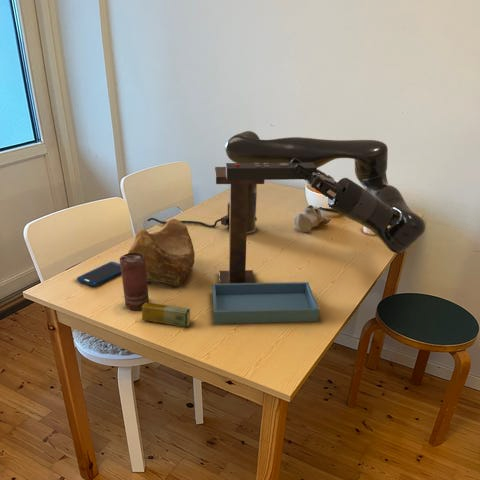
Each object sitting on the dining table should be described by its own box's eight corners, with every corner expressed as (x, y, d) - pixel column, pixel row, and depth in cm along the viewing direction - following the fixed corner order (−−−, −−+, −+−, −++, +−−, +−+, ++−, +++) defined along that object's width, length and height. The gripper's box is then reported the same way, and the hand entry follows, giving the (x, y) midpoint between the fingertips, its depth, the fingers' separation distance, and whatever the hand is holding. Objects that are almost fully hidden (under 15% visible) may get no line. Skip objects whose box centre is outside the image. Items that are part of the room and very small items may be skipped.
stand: (216, 291, 134) (216, 177, 117) (215, 275, 143) (214, 166, 125) (259, 290, 135) (264, 177, 118) (255, 274, 144) (260, 166, 126)
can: (126, 299, 130) (120, 252, 122) (149, 298, 130) (145, 251, 123) (123, 311, 125) (117, 262, 117) (148, 310, 125) (143, 262, 117)
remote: (226, 180, 106) (226, 167, 105) (225, 174, 110) (225, 162, 108) (315, 179, 108) (316, 166, 106) (311, 173, 111) (313, 161, 110)
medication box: (190, 322, 121) (191, 308, 119) (187, 327, 119) (187, 313, 117) (145, 315, 123) (145, 301, 121) (141, 320, 120) (141, 305, 118)
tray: (214, 323, 121) (213, 312, 119) (212, 294, 133) (212, 283, 131) (318, 321, 123) (319, 309, 121) (306, 292, 135) (308, 281, 133)
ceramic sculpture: (288, 205, 169) (309, 197, 179) (285, 229, 173) (306, 220, 184) (314, 213, 163) (335, 204, 174) (311, 237, 168) (331, 227, 178)
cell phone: (76, 280, 138) (75, 277, 137) (112, 263, 148) (112, 260, 147) (93, 287, 134) (93, 285, 134) (129, 269, 144) (129, 267, 144)
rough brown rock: (165, 304, 129) (167, 254, 121) (119, 283, 136) (117, 234, 127) (213, 273, 147) (217, 228, 139) (169, 256, 153) (171, 211, 145)
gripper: (353, 178, 118) (296, 142, 112) (371, 197, 106) (309, 158, 100) (335, 204, 121) (279, 170, 115) (350, 225, 109) (289, 189, 103)
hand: (293, 165), depth 108 cm, fingers closed on remote, 4 cm apart
